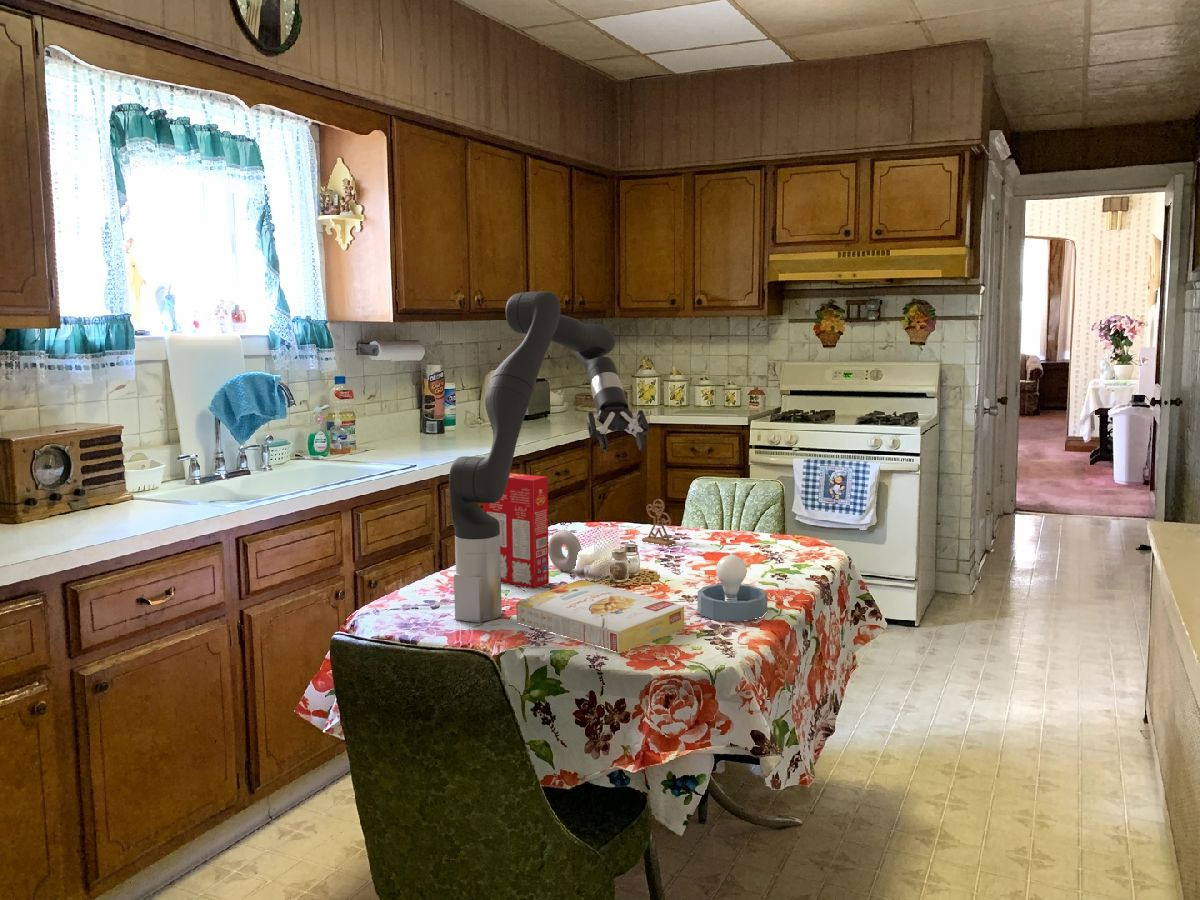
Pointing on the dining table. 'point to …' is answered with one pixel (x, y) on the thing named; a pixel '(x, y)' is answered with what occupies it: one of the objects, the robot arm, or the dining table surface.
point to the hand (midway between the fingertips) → (624, 449)
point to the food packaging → (523, 530)
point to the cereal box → (601, 615)
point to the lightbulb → (731, 575)
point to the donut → (556, 550)
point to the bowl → (732, 603)
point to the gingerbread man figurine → (653, 538)
